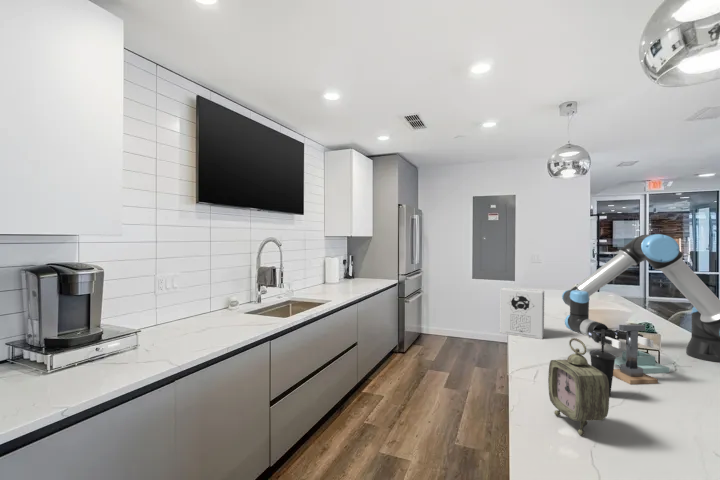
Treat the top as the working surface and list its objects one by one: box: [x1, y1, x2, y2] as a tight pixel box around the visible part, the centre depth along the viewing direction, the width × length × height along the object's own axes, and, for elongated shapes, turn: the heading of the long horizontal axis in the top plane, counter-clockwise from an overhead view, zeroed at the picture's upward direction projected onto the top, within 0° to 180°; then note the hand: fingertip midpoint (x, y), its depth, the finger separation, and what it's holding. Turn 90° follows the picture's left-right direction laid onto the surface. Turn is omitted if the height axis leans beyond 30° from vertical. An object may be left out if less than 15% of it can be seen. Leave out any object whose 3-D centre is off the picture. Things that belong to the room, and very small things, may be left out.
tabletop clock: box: [547, 337, 610, 437], centre depth 104 cm, size 14×9×25 cm, turn 4°
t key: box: [618, 323, 646, 377], centre depth 139 cm, size 9×5×19 cm, turn 95°
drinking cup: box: [589, 336, 617, 397], centre depth 125 cm, size 8×8×20 cm
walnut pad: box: [613, 368, 659, 385], centre depth 139 cm, size 11×11×2 cm
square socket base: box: [614, 350, 670, 374], centre depth 151 cm, size 14×14×6 cm
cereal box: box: [499, 287, 545, 340], centre depth 200 cm, size 22×8×25 cm, turn 58°
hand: (636, 344), depth 137 cm, fingers open, 13 cm apart
